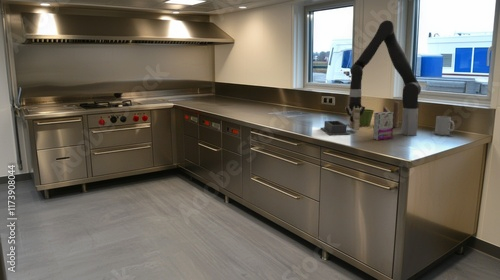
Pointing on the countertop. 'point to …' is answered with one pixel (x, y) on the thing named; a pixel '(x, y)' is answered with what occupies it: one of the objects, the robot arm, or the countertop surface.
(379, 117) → the candy bar box
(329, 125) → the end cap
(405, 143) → the countertop surface
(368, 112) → the plant pot
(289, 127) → the countertop surface
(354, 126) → the beige printed box
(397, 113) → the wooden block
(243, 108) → the countertop surface
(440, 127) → the mug
